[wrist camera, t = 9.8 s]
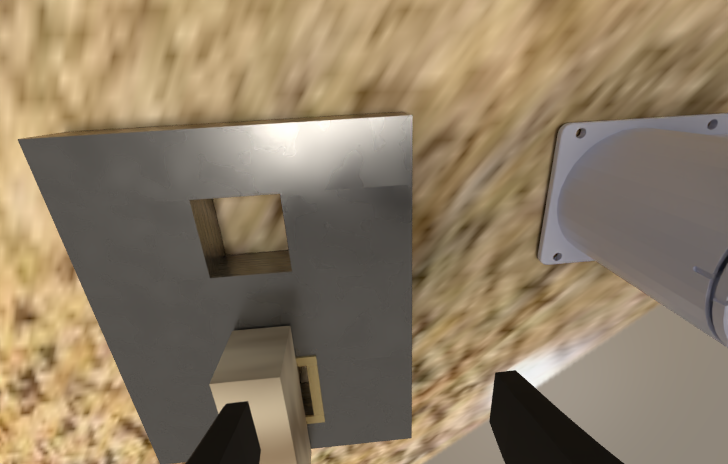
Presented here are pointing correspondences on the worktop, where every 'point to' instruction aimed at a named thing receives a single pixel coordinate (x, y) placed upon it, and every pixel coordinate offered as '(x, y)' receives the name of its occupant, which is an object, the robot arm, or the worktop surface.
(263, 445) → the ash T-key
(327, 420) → the charcoal cover panel
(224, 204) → the worktop surface
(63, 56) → the worktop surface
